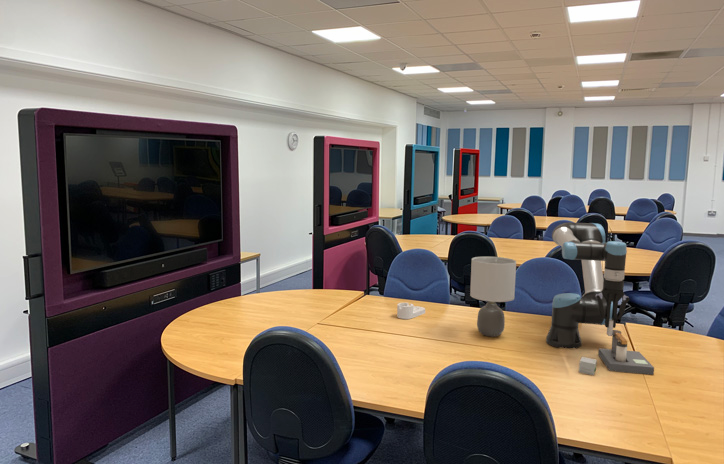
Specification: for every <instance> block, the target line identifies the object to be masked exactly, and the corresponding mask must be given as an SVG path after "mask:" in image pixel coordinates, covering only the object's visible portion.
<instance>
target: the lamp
mask: <svg viewBox="0 0 724 464" xmlns="http://www.w3.org/2000/svg"><path fill="white" fill-rule="evenodd" d="M470 266H471V268H470V269H471V270H470V271H471V272H470V286H469V287H470V289H469V290H470V291H469V292H470V293H469V294H470V295H469V296H470V297H471V298H473V299H475V300H479V301H485V302H486V304H485V305H483V306H481V308H480V309H478V313H477V317H476V318H477V320H476V327H477V331H478V332H479V333H480V334H481V335H483V336H486V337H499V336H501V335H502V334H503V332H504V330H505V326H506V325H505V322H506V321H505V318H506V317H505V312H504V310H503V309H502V308H500V307H499V306H498V304H497V303H504V302H511V301H515V296H516V295H515V291H516V276H517V275H516V274H517V273H516V272H517V261H516V260H515V259H513V258H509V257H500V256H475V257H472V258H471V265H470Z"/></svg>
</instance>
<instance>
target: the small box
mask: <svg viewBox="0 0 724 464" xmlns="http://www.w3.org/2000/svg"><path fill="white" fill-rule="evenodd" d="M597 361H598V360H597V359H595V358H589V357H585V356H582V357H581V358H580V360H579V363H578V364H579V366H578V373H580V374H584V375H590V376H595V373H596V370H597Z"/></svg>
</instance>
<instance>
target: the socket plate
mask: <svg viewBox="0 0 724 464" xmlns="http://www.w3.org/2000/svg"><path fill="white" fill-rule="evenodd" d="M611 337H612V338H611V349H609V348H600V347H599V348H598V352H597V353H598V356H599V358H600V359H601V361H602V362H603V364H604V365H605V366H606V368H607V370H608V371H609V372H619V373H629V374H639V375H641V374H642V375H650V376H653V375H654V372H655V366H653V365H652V364H651V363H650V361H649V360H648V359H646V357H645V356H644V355H643V354H642V353H641V352H640V351H635V350H627V353H626V362H619V361H615V358H616V346H617V345H616V344H617V342H618V339H617V338H616V337H615V336H613V335H612V336H611Z"/></svg>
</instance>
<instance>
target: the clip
mask: <svg viewBox="0 0 724 464" xmlns="http://www.w3.org/2000/svg"><path fill="white" fill-rule="evenodd" d="M612 336H615V337H616V338H617V339H618V341H619V342H620V343H621V344H627V345H628V340H627V339H626V338H625V337H624V336H623V335H622V330H621V331H620V330H618V329H613V333H612Z"/></svg>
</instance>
